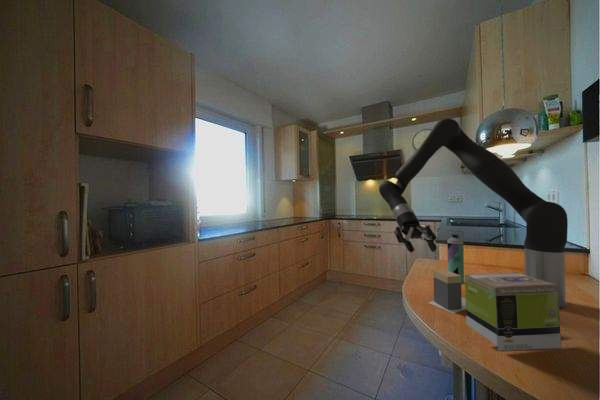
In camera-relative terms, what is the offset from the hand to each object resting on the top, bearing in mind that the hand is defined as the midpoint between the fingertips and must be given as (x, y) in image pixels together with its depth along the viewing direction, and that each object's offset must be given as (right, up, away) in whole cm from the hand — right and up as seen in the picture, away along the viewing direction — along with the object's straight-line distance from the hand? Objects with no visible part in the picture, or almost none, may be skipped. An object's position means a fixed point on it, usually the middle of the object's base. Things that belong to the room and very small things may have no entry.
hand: (423, 251), depth 84 cm
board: (+5, -16, -10) cm, 19 cm away
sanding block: (+1, -14, -11) cm, 18 cm away
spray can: (+19, -16, +11) cm, 27 cm away
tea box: (+7, -16, -27) cm, 32 cm away
